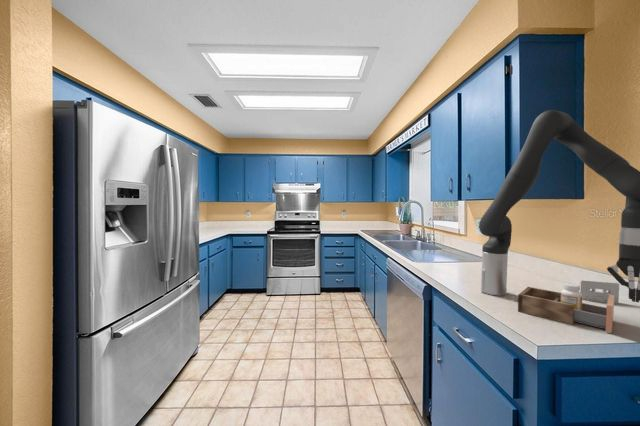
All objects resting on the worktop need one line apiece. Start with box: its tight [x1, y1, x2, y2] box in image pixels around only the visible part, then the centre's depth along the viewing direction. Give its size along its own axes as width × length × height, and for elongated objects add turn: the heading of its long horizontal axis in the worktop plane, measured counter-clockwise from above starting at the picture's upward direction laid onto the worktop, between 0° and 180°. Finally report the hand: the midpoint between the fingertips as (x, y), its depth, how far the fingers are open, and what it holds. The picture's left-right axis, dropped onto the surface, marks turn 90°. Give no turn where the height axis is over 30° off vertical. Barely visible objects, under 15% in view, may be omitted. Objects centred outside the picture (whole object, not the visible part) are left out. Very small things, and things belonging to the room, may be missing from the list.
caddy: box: [517, 286, 574, 325], centre depth 101 cm, size 15×14×6 cm
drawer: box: [554, 295, 615, 334], centre depth 94 cm, size 14×14×8 cm
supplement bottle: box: [560, 282, 583, 311], centre depth 96 cm, size 5×5×10 cm
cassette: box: [579, 279, 620, 304], centre depth 113 cm, size 12×2×8 cm, turn 72°
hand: (635, 301), depth 85 cm, fingers closed
